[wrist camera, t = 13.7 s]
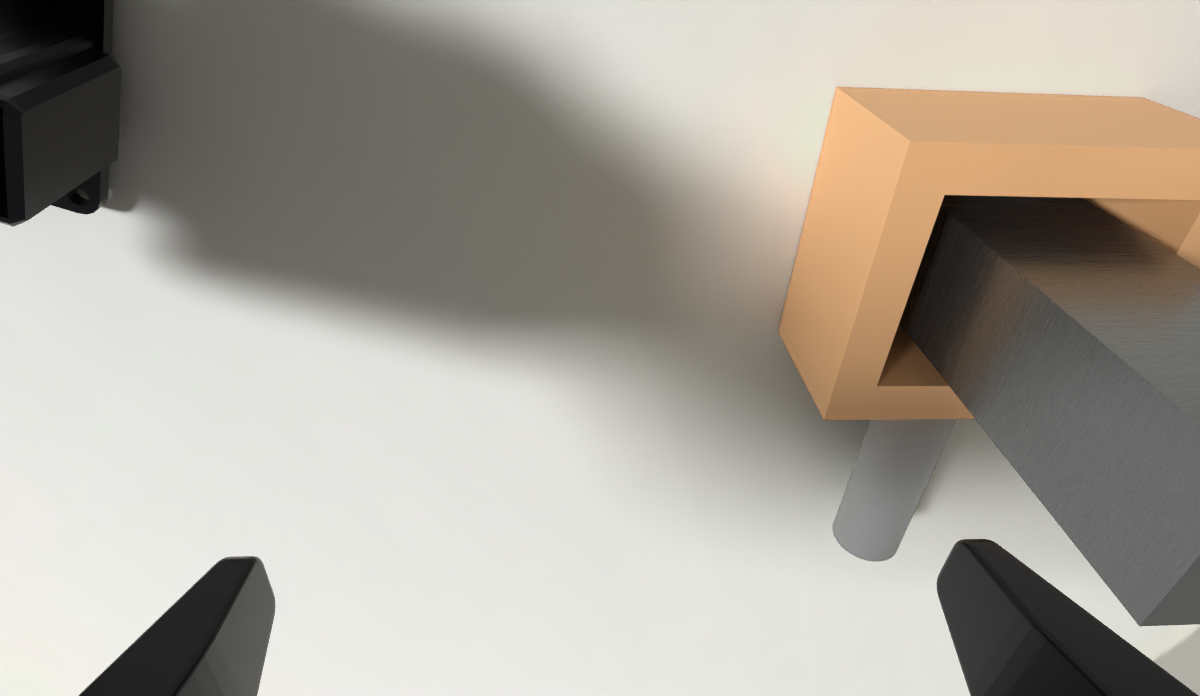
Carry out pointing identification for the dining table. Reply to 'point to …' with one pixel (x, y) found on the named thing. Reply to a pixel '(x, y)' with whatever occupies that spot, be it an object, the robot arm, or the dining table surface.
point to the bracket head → (900, 235)
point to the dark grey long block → (1078, 378)
